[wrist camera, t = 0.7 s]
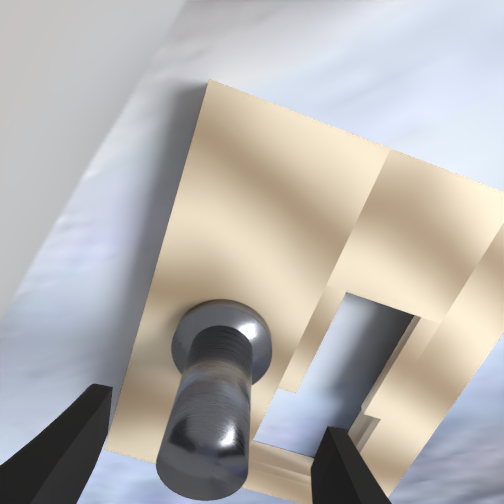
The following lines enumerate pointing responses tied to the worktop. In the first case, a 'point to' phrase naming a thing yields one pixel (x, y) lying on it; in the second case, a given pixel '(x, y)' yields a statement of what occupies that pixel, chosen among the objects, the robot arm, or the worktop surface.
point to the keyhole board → (319, 277)
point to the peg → (213, 399)
